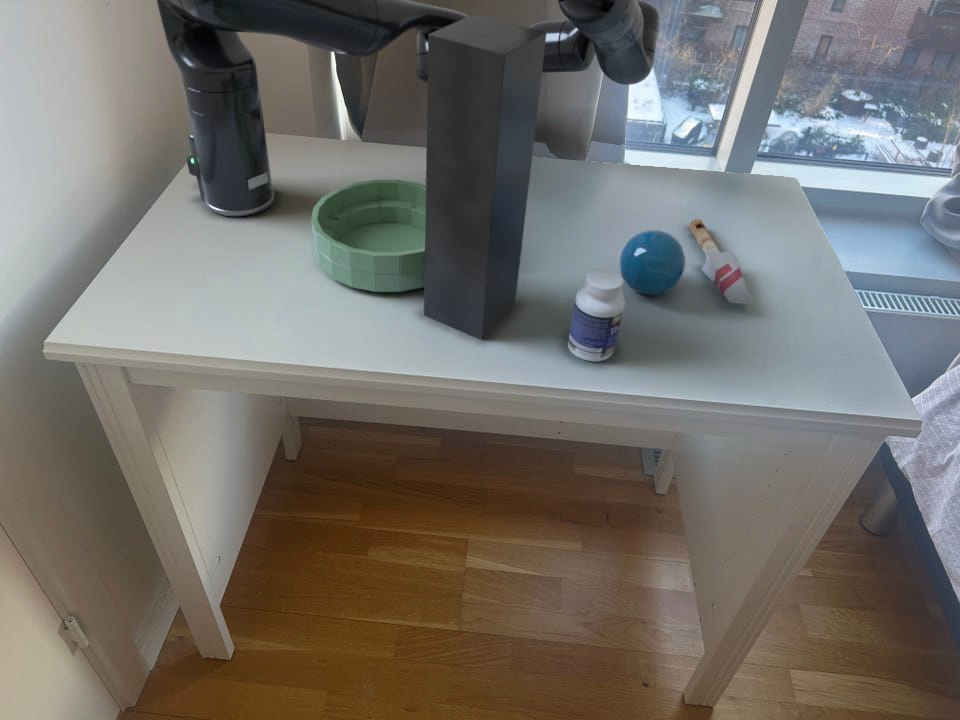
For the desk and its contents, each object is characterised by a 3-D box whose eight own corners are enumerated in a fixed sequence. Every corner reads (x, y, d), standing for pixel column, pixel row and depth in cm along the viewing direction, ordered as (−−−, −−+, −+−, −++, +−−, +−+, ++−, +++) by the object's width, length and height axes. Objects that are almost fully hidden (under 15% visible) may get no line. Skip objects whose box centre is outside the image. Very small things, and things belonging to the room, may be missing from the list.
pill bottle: (612, 367, 83) (629, 296, 76) (564, 358, 83) (577, 287, 77) (615, 337, 87) (631, 268, 80) (569, 329, 87) (582, 260, 81)
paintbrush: (729, 292, 90) (685, 215, 105) (723, 311, 91) (681, 232, 107) (760, 293, 90) (712, 216, 106) (753, 312, 92) (707, 233, 107)
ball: (687, 288, 96) (703, 234, 90) (658, 315, 91) (674, 260, 85) (633, 264, 99) (645, 211, 94) (602, 289, 94) (614, 235, 89)
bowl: (285, 263, 94) (279, 222, 90) (373, 205, 106) (372, 166, 103) (405, 315, 87) (405, 273, 84) (485, 247, 100) (488, 207, 96)
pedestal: (423, 315, 88) (428, 34, 67) (459, 283, 93) (473, 14, 72) (481, 340, 85) (505, 54, 64) (515, 305, 90) (546, 32, 69)
